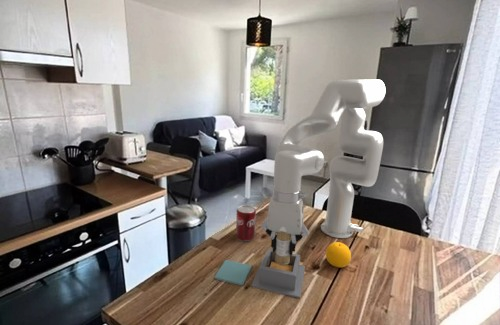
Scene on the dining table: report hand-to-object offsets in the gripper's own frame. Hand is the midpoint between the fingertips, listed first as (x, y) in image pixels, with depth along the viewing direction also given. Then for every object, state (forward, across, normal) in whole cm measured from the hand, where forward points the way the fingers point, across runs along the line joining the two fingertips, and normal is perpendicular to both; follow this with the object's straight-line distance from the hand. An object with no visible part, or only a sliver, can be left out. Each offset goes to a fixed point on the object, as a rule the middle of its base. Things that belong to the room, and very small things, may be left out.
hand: (283, 250), depth 80 cm
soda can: (+9, +17, -17) cm, 26 cm away
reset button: (+8, 0, +1) cm, 8 cm away
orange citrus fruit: (+10, -17, -12) cm, 23 cm away
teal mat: (+9, +14, +4) cm, 17 cm away
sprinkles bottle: (+4, 0, 0) cm, 4 cm away
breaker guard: (+9, 0, +1) cm, 9 cm away
